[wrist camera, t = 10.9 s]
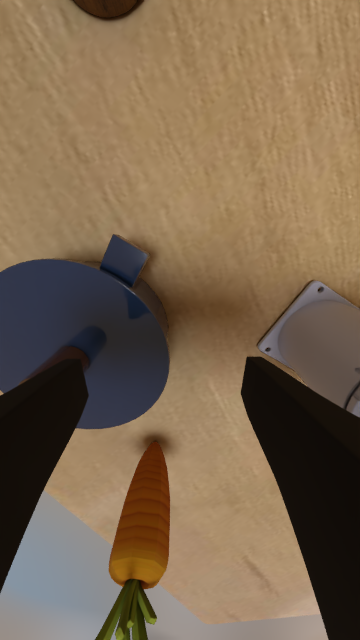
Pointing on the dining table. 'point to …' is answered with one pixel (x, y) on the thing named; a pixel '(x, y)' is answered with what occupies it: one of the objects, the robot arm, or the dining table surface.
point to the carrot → (140, 547)
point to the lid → (83, 336)
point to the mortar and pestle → (106, 6)
